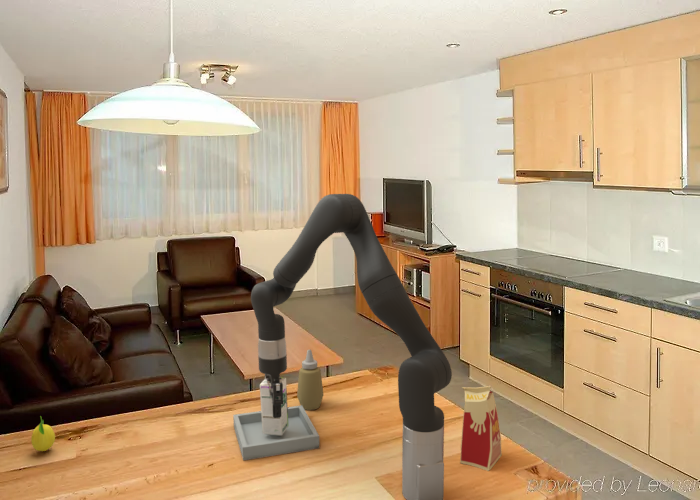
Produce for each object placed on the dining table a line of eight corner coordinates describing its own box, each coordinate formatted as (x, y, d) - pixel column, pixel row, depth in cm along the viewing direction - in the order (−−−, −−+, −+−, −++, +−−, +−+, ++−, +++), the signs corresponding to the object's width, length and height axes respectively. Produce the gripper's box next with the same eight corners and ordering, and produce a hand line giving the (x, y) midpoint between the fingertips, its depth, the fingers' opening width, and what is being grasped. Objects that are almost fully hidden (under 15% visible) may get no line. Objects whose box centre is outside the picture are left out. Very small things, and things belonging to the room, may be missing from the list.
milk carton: (501, 455, 154) (504, 381, 151) (490, 471, 147) (492, 394, 143) (467, 446, 159) (469, 374, 156) (454, 462, 151) (456, 386, 148)
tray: (319, 448, 159) (319, 435, 158) (243, 460, 153) (242, 447, 152) (302, 416, 178) (301, 405, 177) (233, 426, 172) (233, 414, 171)
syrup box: (282, 435, 162) (280, 384, 159) (261, 434, 163) (259, 383, 160) (288, 426, 167) (287, 376, 165) (268, 424, 168) (266, 375, 166)
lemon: (46, 459, 155) (43, 422, 153) (26, 457, 155) (22, 421, 154) (63, 446, 161) (59, 411, 159) (43, 444, 162) (39, 410, 160)
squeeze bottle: (293, 410, 182) (291, 353, 179) (303, 399, 189) (301, 344, 186) (318, 413, 180) (317, 355, 176) (327, 402, 187) (326, 347, 184)
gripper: (291, 360, 156) (293, 420, 158) (281, 343, 169) (282, 399, 172) (262, 363, 153) (265, 424, 156) (254, 346, 167) (256, 402, 170)
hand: (274, 411), depth 164 cm, fingers closed on syrup box, 7 cm apart
